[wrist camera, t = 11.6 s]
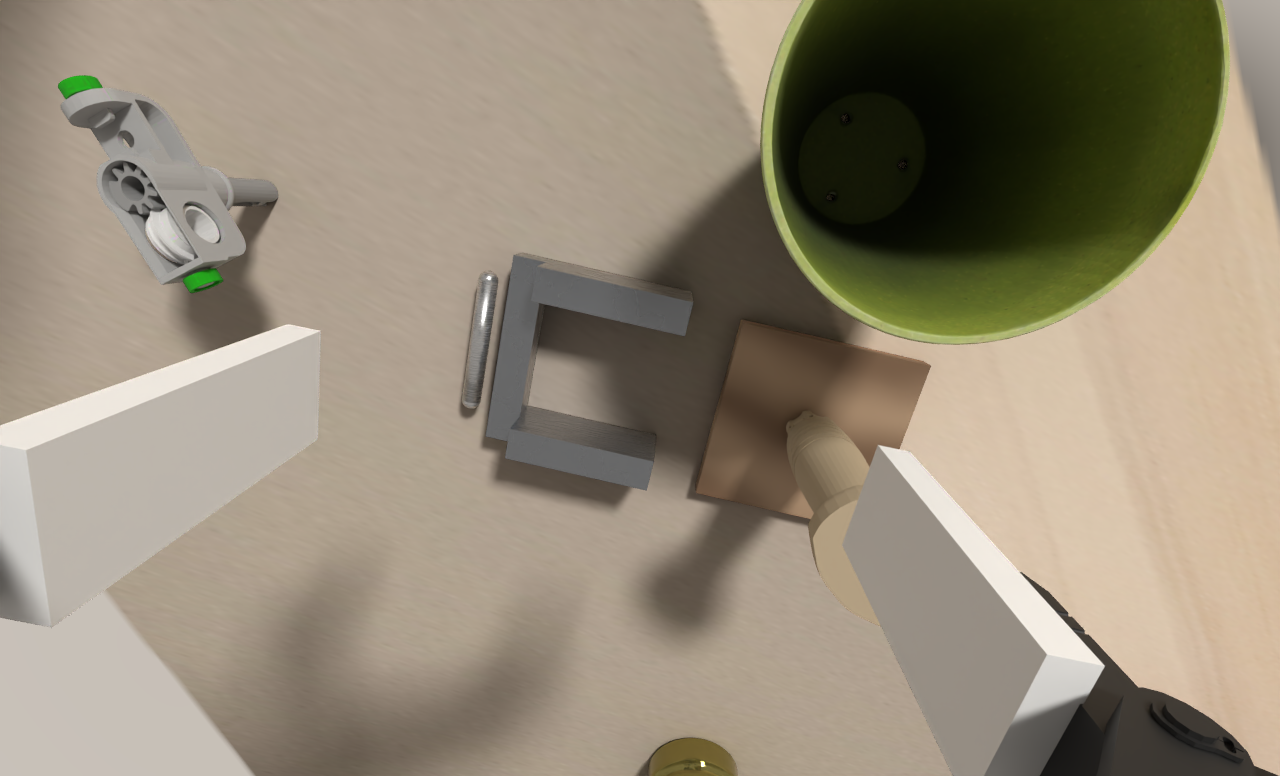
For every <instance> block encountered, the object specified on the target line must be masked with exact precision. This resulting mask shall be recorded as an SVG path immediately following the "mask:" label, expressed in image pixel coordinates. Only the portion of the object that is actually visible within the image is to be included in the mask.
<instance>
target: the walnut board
mask: <svg viewBox="0 0 1280 776" xmlns="http://www.w3.org/2000/svg"><path fill="white" fill-rule="evenodd" d="M930 367H931V366H930V365H929V364H927V363H925V362H924V361H920V360H916V359H911V358H907V357H903V356H898V355H894V354H890V353H885V352H881V351H877V350H872V349H868V348H864V347H859V346H855V345H851V344H846V343H842V342H838V341H833V340H829V339H825V338H820V337H816V336H812V335H807V334H803V333H799V332H794V331H790V330H786V329H781V328H777V327H773V326H768V325H764V324H760V323H755V322H751V321H747V320H742V319H741V321H740V325H739V328H738V332H737V336H736V339H735V343H734V347H733V350H732V354H731V357H730V361H729V365H728V368H727V372H726V376H725V379H724V383H723V387H722V390H721V394H720V397H719V401H718V405H717V408H716V412H715V416H714V419H713V423H712V427H711V430H710V434H709V437H708V441H707V445H706V448H705V452H704V456H703V459H702V463H701V467H700V470H699V474H698V477H697V481H696V485H695V487H696V493H698V494H703V495H707V496H711V497H716V498H720V499H724V500H729V501H733V502H738V503H742V504H746V505H751V506H755V507H760V508H764V509H768V510H773V511H777V512H782V513H786V514H790V515H795V516H799V517H804V518H808V519H811V517H812V516H813V514H814V513H813V511H812V509H811V507H810V506H809V504H808V502H807V500H806V499H805V497H804V495H803V493H802V492H801V490H800V488H799V486H798V484H797V482H796V480H795V477H794V475H793V472H792V469H791V466H790V463H789V459H788V454H787V438H788V433H787V431H786V425H787V423H788V421H790V420H794V419H796V418H798V417H799V416H800V415H801V414H802V412H803V411H807V410H809V411H811V412H812V413H813V414H815V415H817V416H820V417H828V418H830V419H831V420H832V421H833V422H834V423H835V424H836V425H837V426H838V427H839V428H840V429H842V430H843V431H844V432H845V434H846V435H847V436H848V437H849V438H850V439H851V440H852V441H853V443H854V444H855V445H856V446H857V448H858V449H859V450H860V452H861V453H862V455H863V456H864V458H865V460H866V462H867V464H868V465H869V467H870V465H871V463H872V460H873V457H874V454H875V451H876V449H877V446H878V445H880V446H885V447H890V448H895V449H900V446H901V443H902V441H903V438H904V435H905V433H906V430H907V428H908V425H909V422H910V420H911V417H912V414H913V412H914V409H915V407H916V404H917V401H918V399H919V396H920V393H921V391H922V388H923V386H924V383H925V380H926V378H927V375H928V372H929V370H930Z"/></svg>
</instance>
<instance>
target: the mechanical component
mask: <svg viewBox="0 0 1280 776" xmlns="http://www.w3.org/2000/svg"><path fill="white" fill-rule="evenodd" d="M58 88H59V90H60V91H61V93H62V94H63V96H64V97H65V99H66V100H65V101H64V102H63V103H62V104H61V110H62V111H63V113H64V114H65V116H66V117H67V119H68V120H69V122H70V123H71V124H72V125H74V126H77V127H83V128H90V129H91V130H92V132H93V133H94V135H95V137H96V138H97V140H98V141H99V143H100V144H101V146H102V147H103V149H104V151H105V152H106V154H107V155H108V157H109V158H110V160H108V161H107V162H105V163H103V164H101V165H100V167H99V169H98V172H97V187H98V191H99V194H100V196H101V198H102V200H103V202H104V203H105V205H106V206H107V207H108V208H109V209H110V210H111V211H112V212H113V213H114V214H115V215H116V217H117V218H118V220H119V221H120V223H121V224H122V226H123V227H124V229H125V230H126V232H127V233H128V235H129V237H130V238H131V240H132V241H133V243H134V244H135V246H136V247H137V249H138V250H139V252H140V253H141V255H142V256H143V258H144V259H145V261H146V263H147V264H148V266H149V267H150V269H151V270H152V272H153V273H154V275H155V276H156V278H157V279H158V281H159V282H160V284H161V285H164V284H170V283H177V282H184V284H185V286H186V287H187V289H188V290H189V292H190V293H195V292H199V291H203V290H206V289H209V288H211V287H214V286H216V285H218V284H220V283H221V282H223V279H222V277H221V276H220V274H219V272H218V271H217V269H216V268H217V267H219V266H221V265H223V264H225V263H227V262H229V261H231V260H233V259H234V258H236V257H238V256H240V255H242V254H243V253H244V252H245V250H246V243H245V240H244V237H243V235H242V233H241V232H240V230H239V228H238V227H237V225H236V223H235V222H234V220H233V218H232V217H231V215H230V213H229V212H228V211H229V210H230V208H231V207H232V206H267V204H266V203H267V202H273V201H275V200H276V199H277V198H278V191H277V189H276V187H275V186H274V185H273V184H272V183H271V182H269V181H267V180H257V179H242V178H227V176H226V175H225V174H224V173H222V172H221V171H220V170H218V169H216V168H213V167H209V166H201V165H200V164H199V162H198V160H197V159H196V157H195V156H194V154H193V152H192V151H191V149H190V147H189V146H188V144H187V142H186V141H185V139H184V137H183V136H182V134H181V132H180V131H179V129H178V127H177V126H176V124H175V122H174V121H173V119H172V118H171V117H170V115H169V114H168V113H167V112H166V111H165V110H164V109H163V108H162V107H161V106H160V105H159V104H158V103H156V102H155V101H154V100H152V99H150V98H149V97H146V96H144V95H141V94H137V93H133V92H128V91H123V90H118V89H113V88H103V87H102V85H101V84H100V82H99V81H98V79H97V78H95V77H92V76H86V75H84V76H74V77H70V78H67V79H65V80H63V81H61V82H60V83H59V84H58ZM123 138H124V139H125V140H126V141H127V143H128V144H129V146H130V147H131V148H128V147H127V146H126V145H125V144H124V142H123ZM145 228H146V232H147V235H148V237H149V239H150V241H151V242H152V244H153V245H154V246H155V247H156V248H157V250H158V251H159V252H161V253H162V254H163V255H164V256H166V257H167V258H169V259H170V260H172V261H174V262H171V261H169V260H167V259H165V258H163V257H162V256H161V255H159V254H158V253H157V252H156V251H155V250H154V249H153V248H152V247H151V245H150V244H149V242H148V240H147V238H146V235H145ZM175 262H177V263H175Z"/></svg>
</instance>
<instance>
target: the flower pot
mask: <svg viewBox="0 0 1280 776" xmlns="http://www.w3.org/2000/svg"><path fill="white" fill-rule="evenodd" d="M1229 75H1230V51H1229V36H1228V27H1227V22H1226V16H1225V11H1224V7H1223V3H1222V0H802V1H801V3H800V5H799V6H798V8H797V10H796V12H795V14H794V16H793V18H792V20H791V22H790V24H789V26H788V27H787V30H786V32H785V34H784V36H783V39H782V41H781V43H780V46H779V49H778V52H777V55H776V58H775V61H774V64H773V67H772V70H771V73H770V77H769V81H768V85H767V89H766V94H765V100H764V105H763V113H762V122H761V140H760V149H761V169H762V177H763V184H764V189H765V193H766V197H767V202H768V205H769V208H770V211H771V214H772V218H773V220H774V223H775V225H776V228H777V230H778V232H779V235H780V237H781V239H782V241H783V243H784V245H785V247H786V248H787V250H788V252H789V254H790V256H791V257H792V259H793V260H794V262H795V263H796V265H797V266H798V267H799V269H800V270H801V272H802V273H803V274H804V275H805V277H806V278H807V279H808V280H809V281H810V283H811V284H812V285H813V286H814V287H815V288H816V289H817V290H818V291H819V292H820V293H821V294H822V295H823V296H825V297H826V298H827V299H828V300H829V301H830V302H831V303H833V304H834V305H835V306H837V307H838V308H839V309H841V310H842V311H843V312H845V313H846V314H848V315H850V316H851V317H853V318H854V319H856V320H858V321H860V322H862V323H864V324H866V325H868V326H870V327H872V328H874V329H877V330H879V331H882V332H884V333H887V334H890V335H893V336H896V337H900V338H904V339H908V340H912V341H918V342H924V343H932V344H953V345H960V344H977V343H985V342H992V341H998V340H1003V339H1009V338H1013V337H1016V336H1020V335H1023V334H1027V333H1030V332H1033V331H1036V330H1039V329H1042V328H1044V327H1046V326H1049V325H1051V324H1054V323H1056V322H1058V321H1061V320H1062V319H1064V318H1066V317H1068V316H1070V315H1072V314H1074V313H1076V312H1078V311H1079V310H1081V309H1083V308H1085V307H1086V306H1088V305H1090V304H1091V303H1093V302H1095V301H1096V300H1098V299H1099V298H1101V297H1102V296H1104V295H1105V294H1106V293H1108V292H1109V291H1111V290H1112V289H1113V288H1115V287H1116V286H1117V285H1119V284H1120V283H1121V282H1122V281H1123V280H1125V279H1126V278H1127V277H1128V276H1129V275H1130V274H1132V273H1133V272H1134V271H1135V270H1136V269H1137V268H1138V267H1139V266H1140V265H1141V264H1143V263H1144V261H1145V260H1146V259H1147V258H1148V257H1149V256H1150V255H1151V254H1152V253H1153V252H1154V251H1155V250H1156V248H1157V247H1158V246H1159V245H1160V244H1161V243H1162V241H1163V240H1164V239H1165V238H1166V237H1167V235H1168V234H1169V233H1170V232H1171V230H1172V229H1173V227H1174V226H1175V224H1176V223H1177V222H1178V220H1179V218H1180V217H1181V215H1182V214H1183V212H1184V211H1185V209H1186V208H1187V206H1188V205H1189V203H1190V201H1191V200H1192V198H1193V196H1194V194H1195V192H1196V190H1197V188H1198V186H1199V185H1200V183H1201V181H1202V179H1203V177H1204V174H1205V172H1206V170H1207V167H1208V165H1209V163H1210V160H1211V157H1212V155H1213V152H1214V149H1215V146H1216V143H1217V141H1218V137H1219V134H1220V131H1221V127H1222V124H1223V118H1224V113H1225V109H1226V103H1227V97H1228V84H1229ZM844 114H848V115H849V117H850V121H849V122H848V123H844V122H843V121H842V119H841V117H842V115H844ZM901 160H906V161H907V164H908V165H907V167H906V168H905V169H900V168H898V163H899V162H900V161H901ZM828 194H834V196H835V198H834V200H833V201H828V200H827V198H826V197H827V195H828Z"/></svg>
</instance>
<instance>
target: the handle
mask: <svg viewBox="0 0 1280 776" xmlns="http://www.w3.org/2000/svg"><path fill="white" fill-rule="evenodd" d="M786 431H787V433H788V438H787V454H788V459H789V463H790V466H791V469H792V472H793V475H794V477H795V480H796V482H797V484H798V486H799V488H800V490H801V492H802V493H803V495H804V497H805V499H806V500H807V502H808V504H809V506H810V507H811V509H812V511H813V513H814V514H813V516H812V517H811V519H810V522H809V524H808V529H809V536H810V542H811V547H812V553H813V557H814V560H815V564H816V567H817V570H818V572H819V574H820V576H821V578H822V580H823V581H824V583H825V584H826V586H827V587H828V588H829V590H830V591H831V592H832V593H833V595H834V596H835V597H836V598H837V600H838V601H839V602H840V603H841V604H842V605H843V606H844V607H845V608H846V609H847V610H849V611H850V612H852V613H853V614H855V615H857V616H859V617H861V618H863V619H865V620H867V621H869V622H871V623H874V624H876V625H878V626H880V627H881V625H880V623H879V621H878V619H877V617H876V615H875V613H874V611H873V609H872V606H871V604H870V602H869V600H868V598H867V596H866V594H865V592H864V590H863V588H862V586H861V584H860V581H859V579H858V577H857V575H856V573H855V571H854V569H853V567H852V565H851V563H850V561H849V559H848V557H847V554H846V552H845V550H844V548H843V546H842V544H843V541H844V538H845V535H846V532H847V530H848V527H849V524H850V521H851V519H852V516H853V513H854V510H855V507H856V505H857V502H858V499H859V496H860V493H861V491H862V488H863V485H864V482H865V479H866V477H867V474H868V471H869V468H870V467H869V465H868V464H867V462H866V460H865V458H864V456H863V455H862V453H861V452H860V450H859V449H858V448H857V446H856V445H855V444H854V443H853V441H852V440H851V439H850V438H849V437H848V436H847V435H846V434H845V432H844V431H843V430H842V429H840V428H839V427H838V426H837V425H836V424H835V423H834V422H833V421H832V420H831V419H830V418H828V417H820V416H817V415H815V414H813V413H812V412H811V411H809V410H807V411H803V412H802V414H801V415H800V416H799V417H798V418H796V419H794V420H790V421H788V423H787V425H786Z"/></svg>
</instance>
